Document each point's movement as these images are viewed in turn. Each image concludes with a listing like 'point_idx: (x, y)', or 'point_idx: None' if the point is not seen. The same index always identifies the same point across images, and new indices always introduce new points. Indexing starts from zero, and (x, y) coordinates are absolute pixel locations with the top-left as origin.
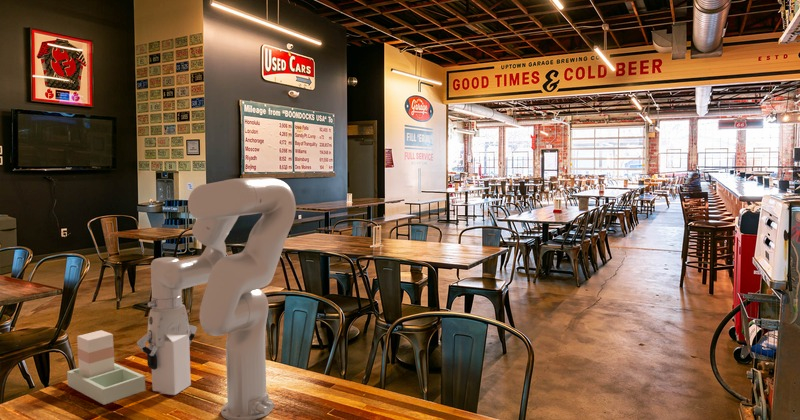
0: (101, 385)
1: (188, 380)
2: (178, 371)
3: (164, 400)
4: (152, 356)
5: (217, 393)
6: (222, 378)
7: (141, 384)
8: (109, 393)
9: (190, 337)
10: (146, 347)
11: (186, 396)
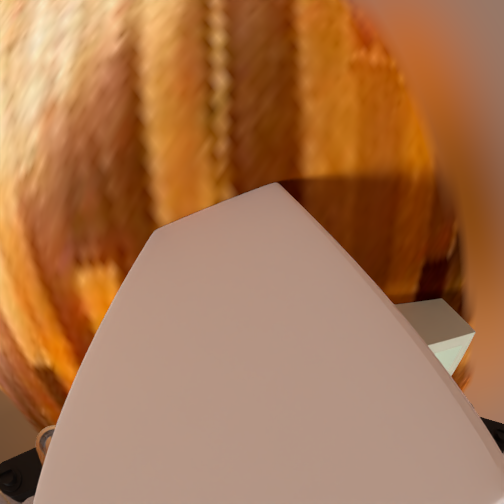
0: (450, 366)
1: (164, 233)
2: (256, 233)
3: (333, 178)
4: None
5: (132, 40)
6: (28, 189)
7: None
8: (452, 323)
9: (30, 479)
10: (500, 449)
11: (245, 126)
